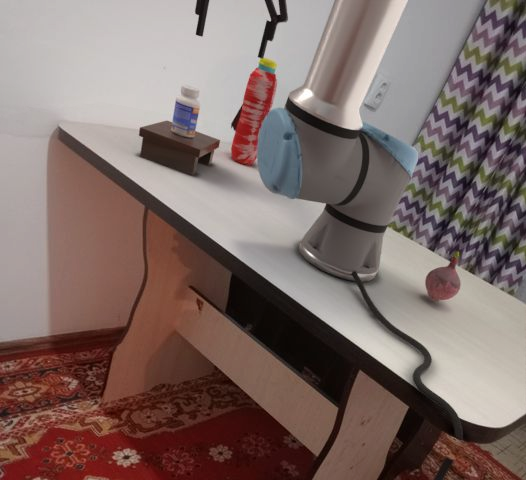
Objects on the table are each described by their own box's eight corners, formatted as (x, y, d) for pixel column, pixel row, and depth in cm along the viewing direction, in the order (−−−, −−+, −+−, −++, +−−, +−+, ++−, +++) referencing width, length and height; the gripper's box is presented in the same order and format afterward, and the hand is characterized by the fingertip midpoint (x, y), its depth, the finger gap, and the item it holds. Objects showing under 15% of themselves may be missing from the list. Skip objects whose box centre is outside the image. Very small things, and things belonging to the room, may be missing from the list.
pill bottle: (192, 139, 104) (201, 93, 99) (168, 132, 103) (176, 84, 98) (195, 135, 109) (204, 90, 103) (172, 128, 108) (180, 82, 103)
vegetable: (423, 289, 89) (450, 242, 83) (452, 305, 86) (481, 258, 81) (411, 296, 84) (439, 246, 79) (442, 313, 82) (472, 263, 76)
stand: (194, 177, 103) (200, 149, 99) (135, 155, 103) (139, 127, 99) (214, 164, 116) (220, 140, 113) (162, 145, 116) (166, 120, 113)
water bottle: (215, 150, 128) (238, 47, 115) (237, 153, 134) (262, 55, 120) (239, 166, 122) (268, 60, 108) (262, 169, 127) (292, 67, 113)
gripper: (322, -57, 88) (288, 67, 100) (200, -102, 88) (179, 27, 99) (320, -67, 82) (283, 66, 93) (188, -116, 82) (167, 24, 93)
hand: (229, 47), depth 96 cm, fingers open, 13 cm apart
